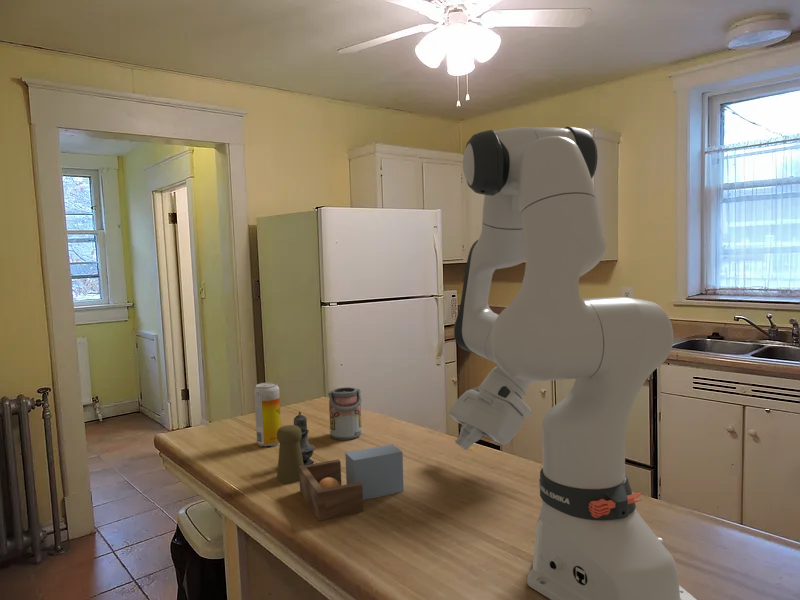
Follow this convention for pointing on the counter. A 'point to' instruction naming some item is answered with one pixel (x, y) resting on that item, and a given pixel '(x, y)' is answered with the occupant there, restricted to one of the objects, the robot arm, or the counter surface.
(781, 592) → the counter surface
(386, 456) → the block
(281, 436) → the olive pawn
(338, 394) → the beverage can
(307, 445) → the grey chess bishop
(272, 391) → the beer can
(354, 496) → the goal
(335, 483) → the ball
